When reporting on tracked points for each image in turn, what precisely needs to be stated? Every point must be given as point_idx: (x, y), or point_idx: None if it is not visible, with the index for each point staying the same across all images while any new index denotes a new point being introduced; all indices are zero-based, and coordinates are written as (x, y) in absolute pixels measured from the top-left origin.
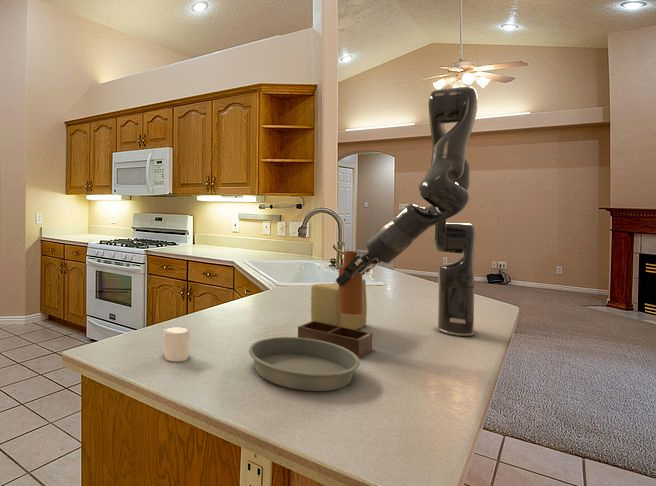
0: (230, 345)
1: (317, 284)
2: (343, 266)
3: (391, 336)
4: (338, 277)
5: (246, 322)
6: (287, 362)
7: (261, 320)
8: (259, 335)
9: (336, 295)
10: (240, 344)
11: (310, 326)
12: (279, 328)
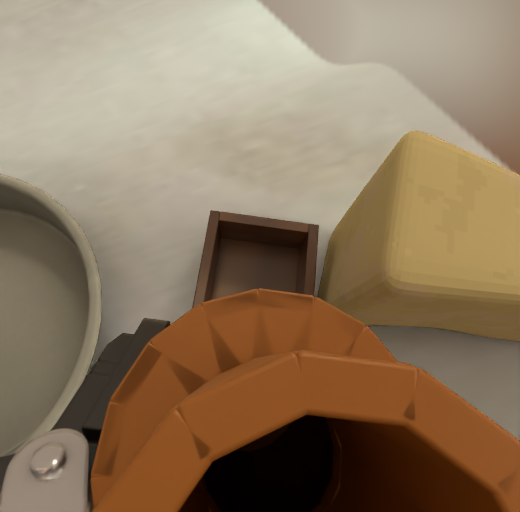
0: (89, 107)
1: (425, 150)
2: (222, 362)
3: None
4: (130, 342)
5: (305, 64)
6: (14, 271)
7: (352, 85)
8: (216, 129)
9: (370, 279)
10: (111, 122)
11: (277, 233)
12: (315, 146)
